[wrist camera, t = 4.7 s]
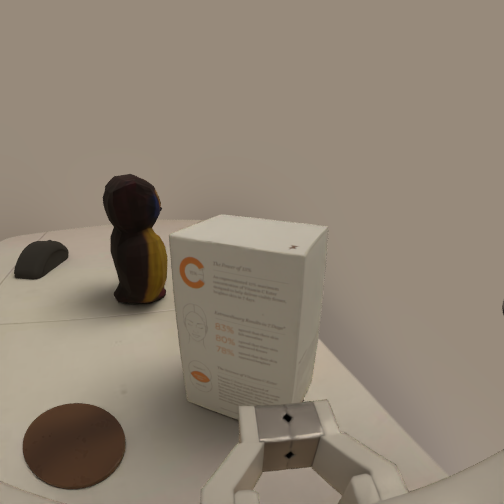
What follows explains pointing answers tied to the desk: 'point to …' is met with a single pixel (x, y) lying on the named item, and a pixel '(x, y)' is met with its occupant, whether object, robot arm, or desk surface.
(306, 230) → the small box
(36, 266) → the computer mouse
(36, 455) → the coaster
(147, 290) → the figurine
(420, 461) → the desk surface
